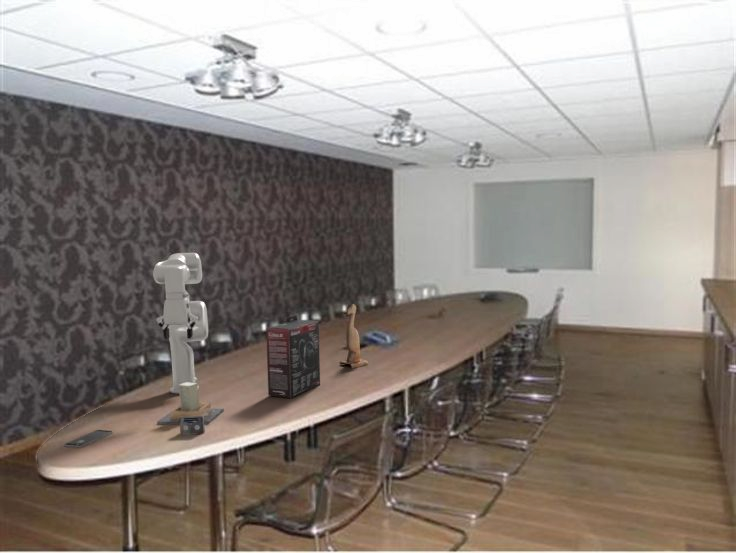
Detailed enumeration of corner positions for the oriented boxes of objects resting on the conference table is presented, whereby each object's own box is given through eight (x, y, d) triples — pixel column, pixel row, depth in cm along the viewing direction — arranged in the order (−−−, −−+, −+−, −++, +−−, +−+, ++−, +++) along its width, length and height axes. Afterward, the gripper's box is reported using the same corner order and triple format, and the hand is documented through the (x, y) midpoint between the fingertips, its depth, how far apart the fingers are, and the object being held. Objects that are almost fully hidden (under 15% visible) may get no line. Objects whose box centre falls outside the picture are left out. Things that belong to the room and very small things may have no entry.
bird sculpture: (338, 366, 315) (334, 305, 312) (355, 361, 323) (351, 301, 320) (352, 369, 307) (348, 306, 303) (369, 364, 315) (366, 303, 311)
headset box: (298, 382, 282) (295, 312, 280) (322, 384, 277) (319, 312, 274) (267, 396, 260) (263, 320, 258) (292, 399, 255) (288, 321, 252)
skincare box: (200, 414, 235) (198, 383, 234) (191, 417, 231) (189, 385, 230) (189, 412, 238) (187, 381, 238) (180, 415, 235) (178, 384, 234)
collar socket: (175, 411, 244) (174, 401, 244) (223, 411, 241) (223, 401, 241) (157, 424, 228) (156, 413, 228) (208, 423, 226) (208, 413, 225)
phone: (97, 432, 223) (62, 447, 208) (96, 429, 223) (62, 444, 207) (114, 433, 220) (80, 449, 205) (114, 430, 220) (80, 446, 205)
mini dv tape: (204, 432, 217) (203, 415, 216) (203, 433, 215) (202, 417, 215) (181, 432, 217) (180, 416, 216) (180, 434, 215) (179, 417, 215)
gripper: (199, 295, 250) (202, 336, 251) (159, 296, 252) (162, 337, 253) (192, 297, 243) (195, 339, 244) (151, 298, 245) (154, 340, 246)
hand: (178, 338), depth 249 cm, fingers open, 9 cm apart
